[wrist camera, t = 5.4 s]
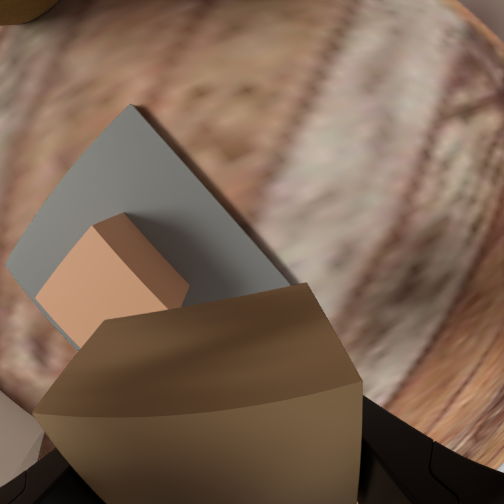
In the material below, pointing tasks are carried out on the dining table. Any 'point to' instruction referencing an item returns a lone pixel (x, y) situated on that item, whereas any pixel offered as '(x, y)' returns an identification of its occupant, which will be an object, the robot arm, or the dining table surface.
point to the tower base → (153, 208)
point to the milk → (17, 440)
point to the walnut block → (213, 405)
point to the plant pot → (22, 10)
